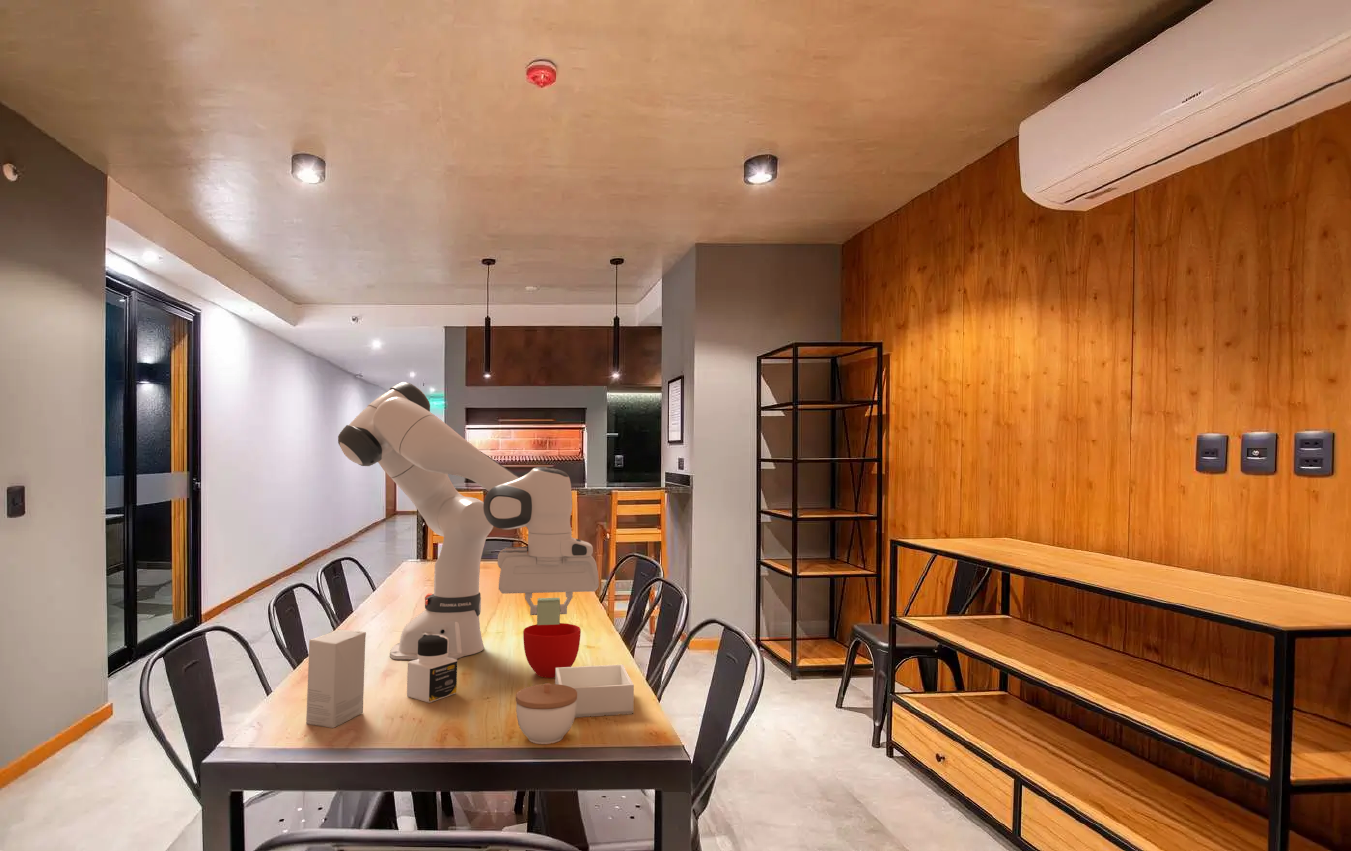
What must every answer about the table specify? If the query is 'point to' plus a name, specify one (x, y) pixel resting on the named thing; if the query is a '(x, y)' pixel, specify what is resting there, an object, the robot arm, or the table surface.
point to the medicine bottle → (432, 670)
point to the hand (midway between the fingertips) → (548, 614)
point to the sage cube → (548, 611)
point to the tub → (599, 689)
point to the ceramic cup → (551, 647)
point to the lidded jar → (546, 712)
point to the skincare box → (335, 678)
